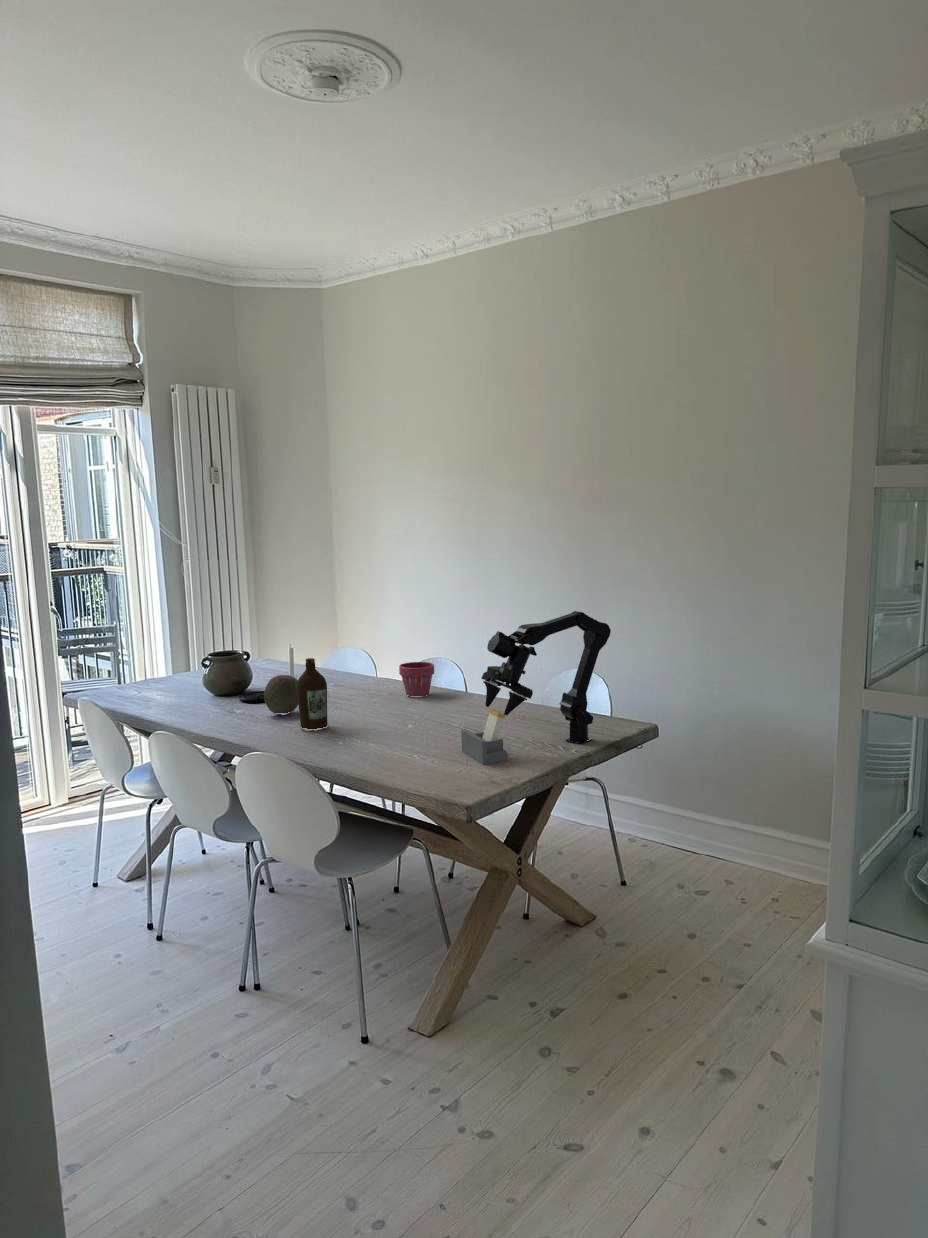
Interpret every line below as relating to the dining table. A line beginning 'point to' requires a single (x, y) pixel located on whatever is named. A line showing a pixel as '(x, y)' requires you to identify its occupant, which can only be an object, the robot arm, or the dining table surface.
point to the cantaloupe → (281, 694)
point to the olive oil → (312, 697)
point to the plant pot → (417, 677)
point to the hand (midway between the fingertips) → (496, 710)
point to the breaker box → (482, 748)
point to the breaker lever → (493, 725)
